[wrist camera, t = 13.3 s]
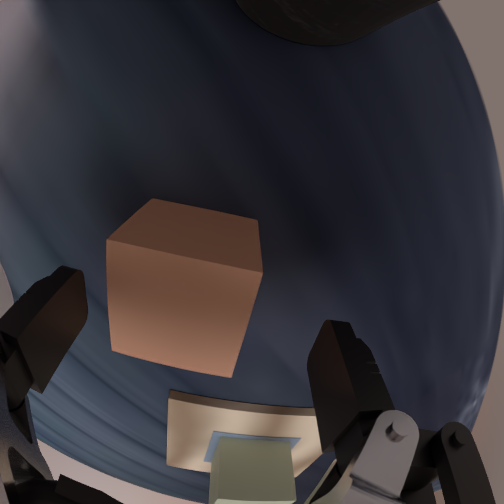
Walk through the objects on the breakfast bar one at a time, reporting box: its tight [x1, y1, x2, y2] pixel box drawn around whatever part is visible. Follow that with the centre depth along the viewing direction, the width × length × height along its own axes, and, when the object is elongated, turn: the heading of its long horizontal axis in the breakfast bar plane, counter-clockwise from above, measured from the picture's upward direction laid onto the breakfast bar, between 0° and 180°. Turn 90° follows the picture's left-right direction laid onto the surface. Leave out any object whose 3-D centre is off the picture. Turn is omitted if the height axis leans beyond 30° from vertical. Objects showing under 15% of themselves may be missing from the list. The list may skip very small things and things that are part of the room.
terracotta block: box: [106, 198, 263, 378], centre depth 12 cm, size 5×5×5 cm
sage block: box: [209, 436, 296, 504], centre depth 19 cm, size 6×6×6 cm
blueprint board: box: [167, 390, 322, 477], centre depth 22 cm, size 15×15×1 cm
